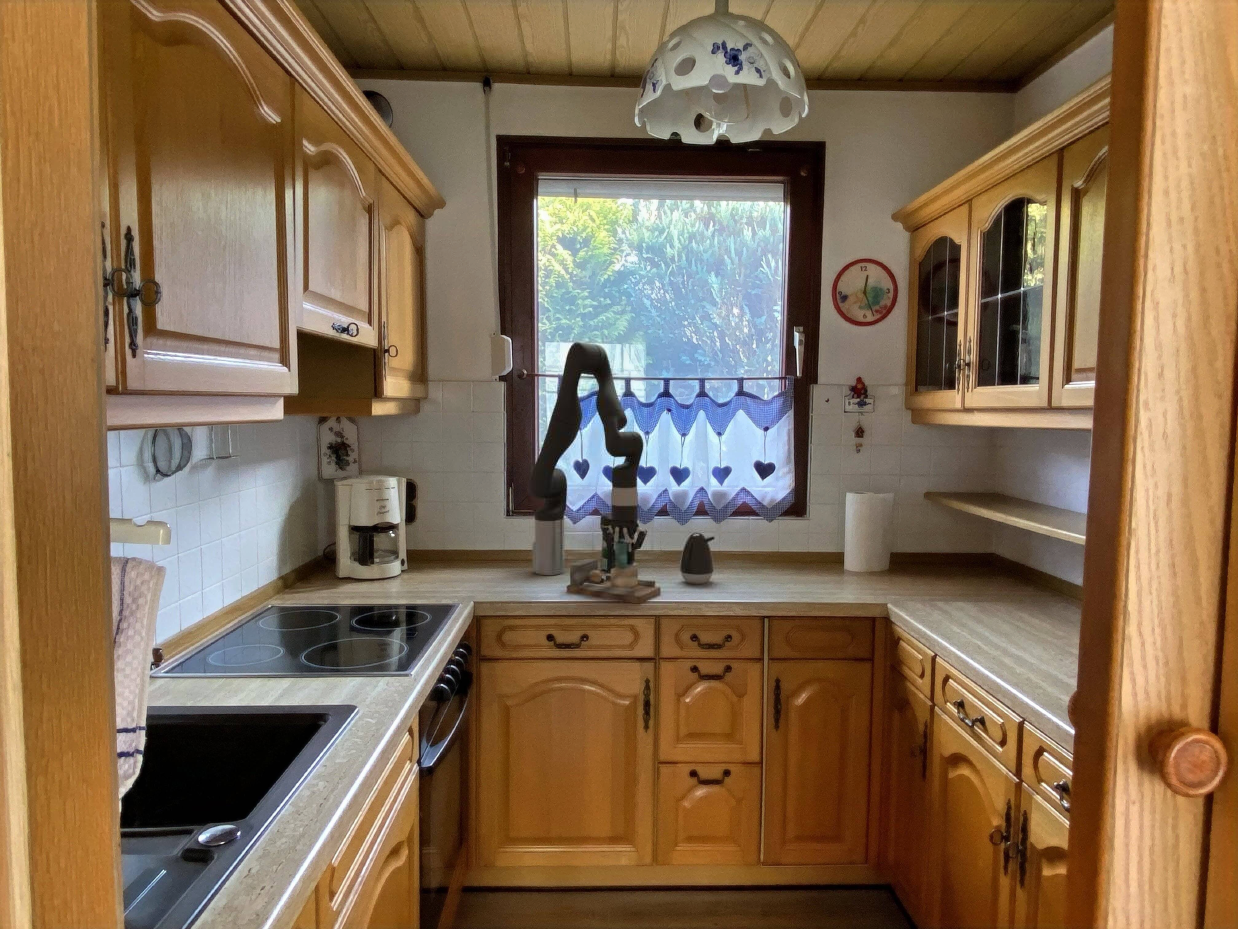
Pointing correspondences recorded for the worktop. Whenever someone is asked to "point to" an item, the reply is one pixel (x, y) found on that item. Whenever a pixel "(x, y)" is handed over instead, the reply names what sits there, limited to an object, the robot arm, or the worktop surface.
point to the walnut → (595, 576)
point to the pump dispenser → (697, 559)
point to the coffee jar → (607, 551)
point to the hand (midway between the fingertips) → (624, 563)
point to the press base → (608, 585)
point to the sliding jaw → (623, 568)
